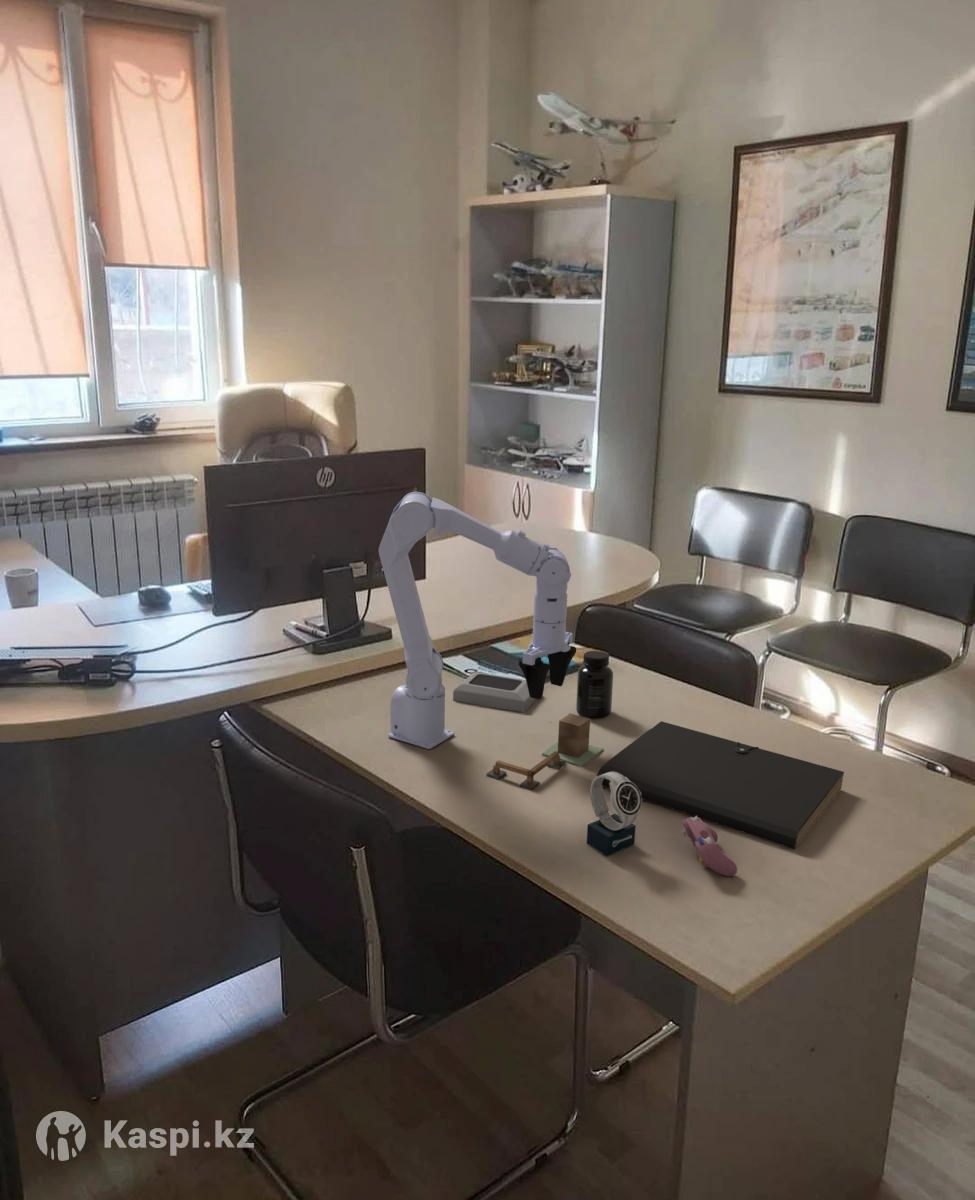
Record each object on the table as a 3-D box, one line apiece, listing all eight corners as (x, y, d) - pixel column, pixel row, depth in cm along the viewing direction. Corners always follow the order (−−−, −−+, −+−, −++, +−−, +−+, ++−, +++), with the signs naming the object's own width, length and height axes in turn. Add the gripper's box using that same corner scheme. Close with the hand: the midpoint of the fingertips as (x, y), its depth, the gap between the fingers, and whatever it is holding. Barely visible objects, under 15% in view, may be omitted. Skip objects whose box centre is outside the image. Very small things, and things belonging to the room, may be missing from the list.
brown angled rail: (486, 775, 164) (486, 761, 163) (521, 751, 173) (521, 738, 172) (532, 790, 159) (533, 776, 158) (565, 764, 168) (566, 751, 167)
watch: (616, 862, 139) (621, 792, 136) (578, 838, 145) (582, 770, 142) (644, 850, 142) (649, 781, 139) (605, 827, 148) (610, 761, 145)
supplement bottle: (617, 711, 191) (620, 653, 187) (601, 722, 185) (605, 663, 182) (585, 703, 194) (588, 646, 191) (569, 714, 189) (572, 655, 185)
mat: (541, 754, 172) (541, 753, 171) (563, 739, 178) (563, 737, 178) (582, 766, 167) (582, 765, 167) (603, 750, 174) (603, 748, 174)
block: (557, 752, 172) (559, 720, 170) (568, 744, 175) (570, 713, 174) (577, 758, 170) (579, 726, 168) (588, 749, 173) (590, 718, 171)
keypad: (525, 696, 188) (453, 684, 193) (524, 714, 189) (453, 701, 194) (540, 680, 197) (471, 668, 202) (539, 697, 198) (470, 685, 203)
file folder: (845, 769, 161) (796, 831, 142) (842, 791, 162) (793, 856, 143) (661, 718, 179) (596, 767, 160) (660, 739, 180) (595, 790, 161)
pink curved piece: (689, 851, 145) (672, 814, 143) (717, 838, 145) (700, 800, 143) (711, 889, 136) (693, 850, 134) (741, 875, 136) (723, 836, 134)
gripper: (549, 634, 163) (545, 709, 167) (589, 613, 175) (585, 683, 179) (513, 625, 167) (510, 699, 171) (554, 605, 179) (551, 675, 182)
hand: (546, 691), depth 175 cm, fingers open, 7 cm apart
